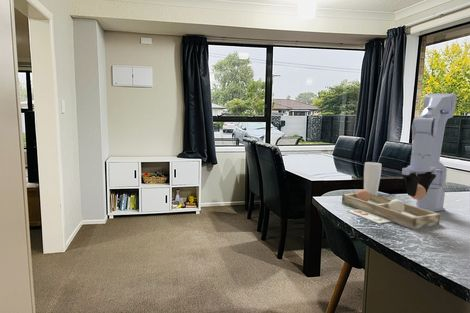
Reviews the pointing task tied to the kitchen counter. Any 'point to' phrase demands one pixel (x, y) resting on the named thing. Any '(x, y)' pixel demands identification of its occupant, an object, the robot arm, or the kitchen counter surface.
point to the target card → (369, 216)
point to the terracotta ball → (419, 192)
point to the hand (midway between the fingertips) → (416, 195)
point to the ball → (363, 195)
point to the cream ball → (396, 205)
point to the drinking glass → (372, 176)
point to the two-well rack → (380, 207)
